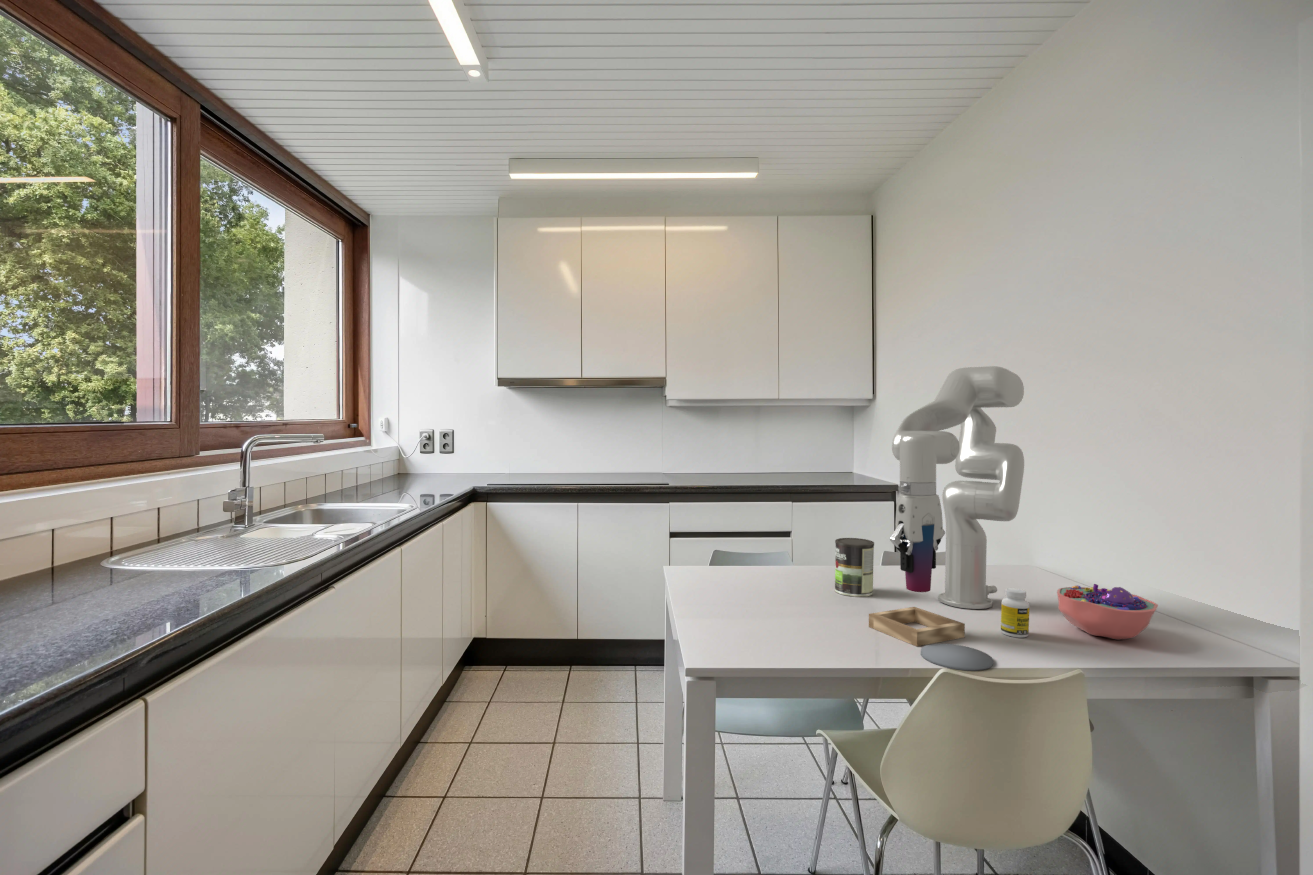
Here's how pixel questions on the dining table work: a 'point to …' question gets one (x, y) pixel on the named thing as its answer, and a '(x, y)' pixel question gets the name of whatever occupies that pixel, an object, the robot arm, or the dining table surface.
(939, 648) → the disc
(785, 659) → the dining table surface
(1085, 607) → the cell model
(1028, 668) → the dining table surface
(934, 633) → the socket
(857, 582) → the coffee can
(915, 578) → the cup
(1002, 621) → the supplement bottle
